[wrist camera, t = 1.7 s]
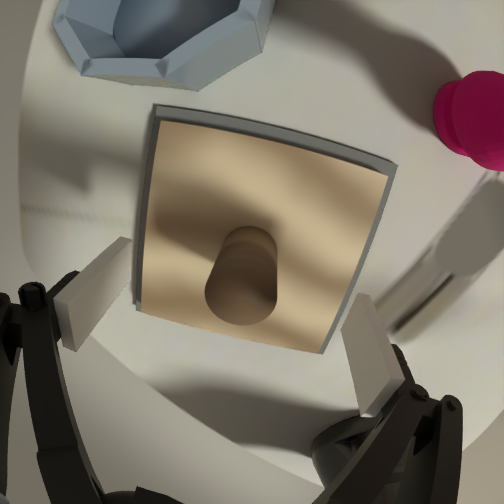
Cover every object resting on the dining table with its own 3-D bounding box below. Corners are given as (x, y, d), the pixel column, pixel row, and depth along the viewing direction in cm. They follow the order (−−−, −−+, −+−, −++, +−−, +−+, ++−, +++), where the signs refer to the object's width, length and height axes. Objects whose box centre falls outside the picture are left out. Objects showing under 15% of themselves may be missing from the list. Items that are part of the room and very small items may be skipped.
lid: (316, 345, 26) (324, 405, 20) (145, 304, 26) (112, 356, 19) (382, 173, 20) (427, 196, 13) (166, 120, 20) (119, 120, 13)
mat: (322, 350, 27) (322, 354, 27) (138, 306, 27) (135, 310, 26) (395, 164, 20) (398, 165, 20) (160, 106, 20) (156, 105, 19)
